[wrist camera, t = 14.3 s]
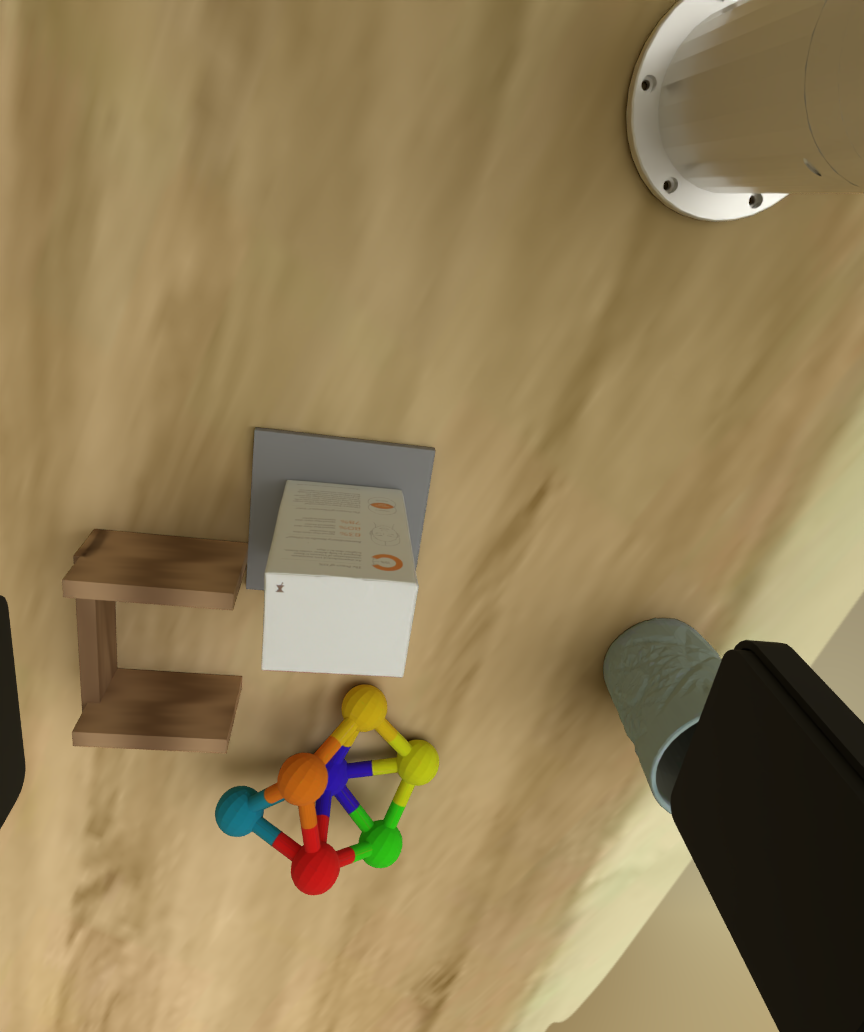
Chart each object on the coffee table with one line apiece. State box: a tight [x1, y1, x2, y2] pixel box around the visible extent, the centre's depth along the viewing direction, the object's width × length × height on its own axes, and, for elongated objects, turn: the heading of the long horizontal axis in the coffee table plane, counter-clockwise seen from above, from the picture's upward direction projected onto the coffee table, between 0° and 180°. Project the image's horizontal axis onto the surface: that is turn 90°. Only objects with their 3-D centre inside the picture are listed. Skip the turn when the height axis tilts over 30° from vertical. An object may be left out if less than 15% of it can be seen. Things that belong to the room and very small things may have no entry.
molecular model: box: [215, 684, 439, 895], centre depth 55 cm, size 15×10×15 cm
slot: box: [62, 529, 248, 753], centre depth 49 cm, size 10×13×7 cm
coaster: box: [246, 427, 435, 590], centre depth 50 cm, size 12×12×1 cm
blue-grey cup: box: [603, 618, 722, 814], centre depth 52 cm, size 10×10×12 cm
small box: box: [262, 480, 419, 678], centre depth 44 cm, size 8×6×13 cm
